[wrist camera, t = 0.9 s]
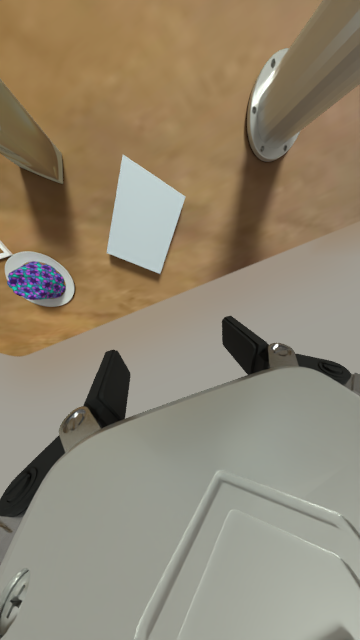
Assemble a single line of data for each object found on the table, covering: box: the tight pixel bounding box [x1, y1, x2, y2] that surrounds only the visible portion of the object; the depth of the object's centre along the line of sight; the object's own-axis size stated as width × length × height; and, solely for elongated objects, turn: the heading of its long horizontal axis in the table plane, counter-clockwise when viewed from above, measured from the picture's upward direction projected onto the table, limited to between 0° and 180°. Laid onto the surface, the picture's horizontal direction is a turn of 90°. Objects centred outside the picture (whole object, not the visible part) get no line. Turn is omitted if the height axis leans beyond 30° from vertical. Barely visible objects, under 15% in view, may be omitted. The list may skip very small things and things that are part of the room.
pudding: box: [5, 251, 74, 307], centre depth 27 cm, size 12×12×5 cm
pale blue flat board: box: [107, 155, 185, 274], centre depth 28 cm, size 16×12×3 cm
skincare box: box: [0, 79, 63, 184], centre depth 16 cm, size 6×4×12 cm
